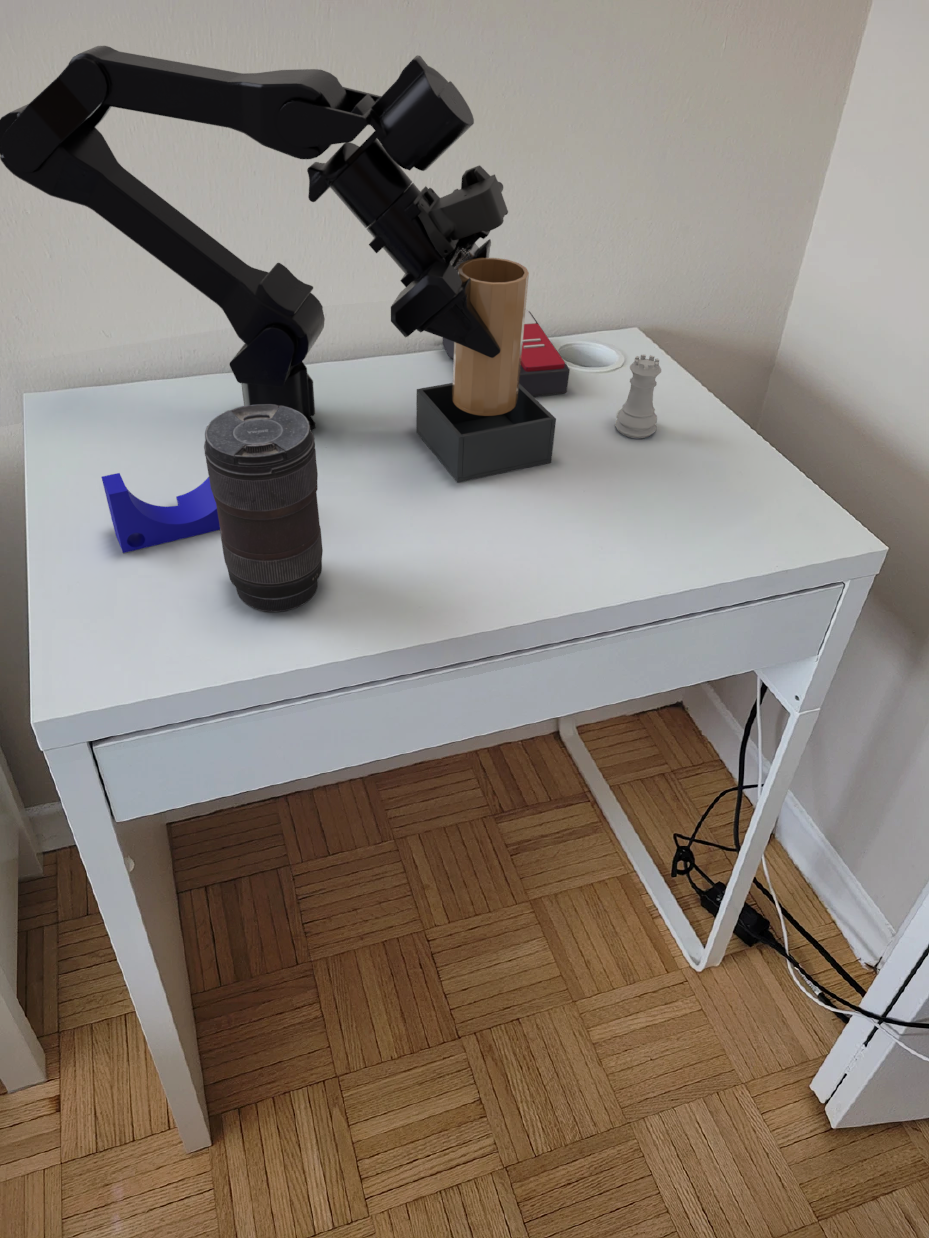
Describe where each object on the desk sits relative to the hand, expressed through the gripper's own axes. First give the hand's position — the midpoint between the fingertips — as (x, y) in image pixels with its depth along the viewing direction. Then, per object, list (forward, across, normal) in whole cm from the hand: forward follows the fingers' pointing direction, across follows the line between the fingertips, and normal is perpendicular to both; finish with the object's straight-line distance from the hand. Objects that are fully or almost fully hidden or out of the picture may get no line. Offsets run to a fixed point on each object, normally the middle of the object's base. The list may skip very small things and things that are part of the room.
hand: (502, 339), depth 90 cm
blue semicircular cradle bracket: (-9, -20, +26) cm, 34 cm away
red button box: (+7, +18, +10) cm, 22 cm away
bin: (+8, 0, +9) cm, 12 cm away
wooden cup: (+4, 0, +6) cm, 7 cm away
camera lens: (-1, -27, +18) cm, 33 cm away
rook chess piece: (+18, +8, -1) cm, 20 cm away
